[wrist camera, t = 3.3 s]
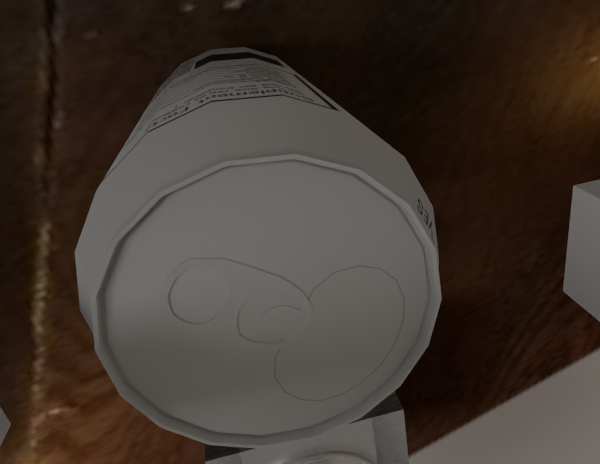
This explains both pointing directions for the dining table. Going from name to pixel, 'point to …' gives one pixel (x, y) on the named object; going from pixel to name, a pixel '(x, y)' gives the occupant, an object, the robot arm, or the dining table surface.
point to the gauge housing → (334, 443)
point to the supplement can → (256, 258)
